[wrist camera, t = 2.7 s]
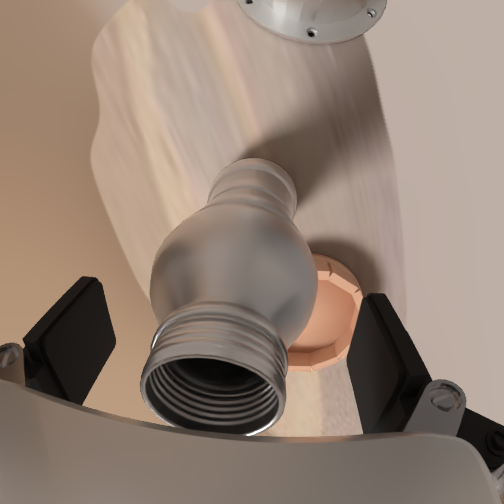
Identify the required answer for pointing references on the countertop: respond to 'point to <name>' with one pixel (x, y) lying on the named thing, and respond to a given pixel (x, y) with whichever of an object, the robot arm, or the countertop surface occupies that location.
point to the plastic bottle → (230, 305)
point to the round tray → (328, 318)
